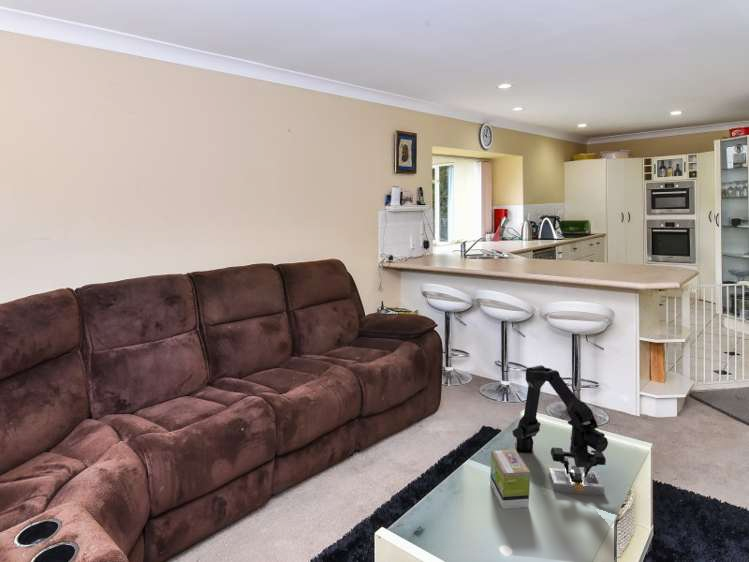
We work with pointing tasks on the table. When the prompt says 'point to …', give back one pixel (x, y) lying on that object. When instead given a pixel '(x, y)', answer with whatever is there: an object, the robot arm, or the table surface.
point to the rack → (565, 484)
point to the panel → (575, 474)
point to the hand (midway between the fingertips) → (575, 476)
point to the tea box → (510, 479)
